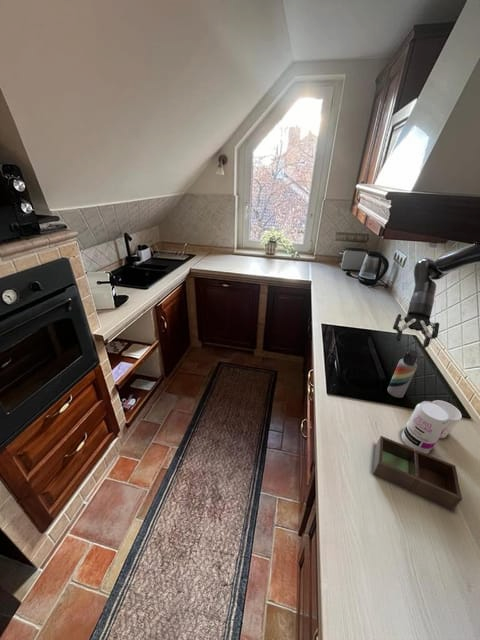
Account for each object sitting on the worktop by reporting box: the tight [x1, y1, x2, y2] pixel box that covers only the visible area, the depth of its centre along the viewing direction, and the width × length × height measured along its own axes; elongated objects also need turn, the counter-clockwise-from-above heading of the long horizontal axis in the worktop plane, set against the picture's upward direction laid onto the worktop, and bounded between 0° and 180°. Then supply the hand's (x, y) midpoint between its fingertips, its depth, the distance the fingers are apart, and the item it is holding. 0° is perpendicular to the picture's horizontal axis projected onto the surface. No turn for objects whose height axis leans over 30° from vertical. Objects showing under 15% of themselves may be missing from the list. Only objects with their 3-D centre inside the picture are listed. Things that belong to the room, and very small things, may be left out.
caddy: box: [372, 435, 463, 511], centre depth 70 cm, size 18×10×6 cm, turn 61°
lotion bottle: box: [386, 349, 420, 399], centre depth 94 cm, size 6×6×20 cm
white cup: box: [432, 399, 463, 439], centre depth 82 cm, size 8×8×10 cm
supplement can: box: [401, 400, 449, 454], centre depth 77 cm, size 8×8×15 cm
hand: (411, 344), depth 96 cm, fingers open, 8 cm apart
